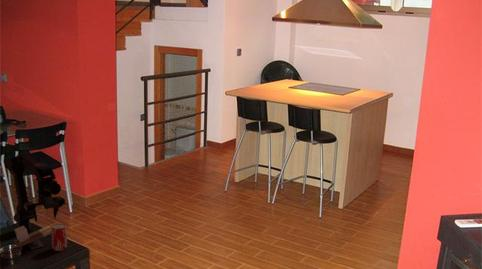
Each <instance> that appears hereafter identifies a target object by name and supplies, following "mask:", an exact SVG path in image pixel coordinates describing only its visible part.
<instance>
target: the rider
mask: <svg viewBox="0 0 482 269" xmlns="http://www.w3.org/2000/svg"><path fill="white" fill-rule="evenodd" d="M13 231H14V233H15V235H16V240H17V239H18V241H19V242H20V243H22V242H24V241H27V240H29V232H27V229H26V228H25V227H24V226H21V227H19V228H18V227H17V228H15V229H14V230H13Z"/></svg>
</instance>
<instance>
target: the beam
mask: <svg viewBox="0 0 482 269" xmlns="http://www.w3.org/2000/svg"><path fill="white" fill-rule="evenodd" d="M52 228H53V227H51V226H50V225H48V226H46V227H43V228H41V229H38V230H35V231H32V232H31V233H28V235H29V240H27V241H24V242H22V243H20V242H19V241H18V239H17V238H16V239H15V240H13V243H14V244H15V246H16V247H17V248H18V249H19V248H22V247H24V246H26V245H27V244H28V243H30V242H33V241H35V240H40V239H42V238H44V237H46V236H48V235H52Z"/></svg>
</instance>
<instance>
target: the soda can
mask: <svg viewBox="0 0 482 269" xmlns="http://www.w3.org/2000/svg"><path fill="white" fill-rule="evenodd" d="M51 228H52V233H51V246H52V250H53V251H55V252H57V251H58V252H62V251H64V250H65V249H67V248H68V233H67V227H66V224H63V223H57V224H54V225H53V226H52V227H51Z"/></svg>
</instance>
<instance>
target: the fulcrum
mask: <svg viewBox="0 0 482 269" xmlns="http://www.w3.org/2000/svg"><path fill="white" fill-rule="evenodd" d="M26 245H27V246H28V247H29V249H30V250H35V249H40V248H43V247H44V246H45V245H44V244H43V242H42V241H41V240H40V239H37V240H35V241H33V242H30V243H28V244H26Z"/></svg>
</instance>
